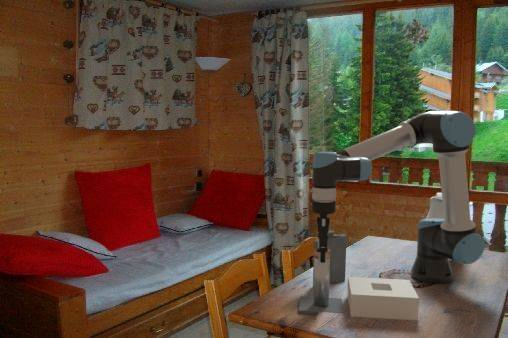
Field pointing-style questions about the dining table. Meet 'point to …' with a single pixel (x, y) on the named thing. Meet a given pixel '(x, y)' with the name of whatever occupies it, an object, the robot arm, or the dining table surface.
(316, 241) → the hip flask
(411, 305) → the bore block
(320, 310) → the slate mat
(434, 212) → the pitcher
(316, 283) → the steel plug
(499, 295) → the dining table surface
